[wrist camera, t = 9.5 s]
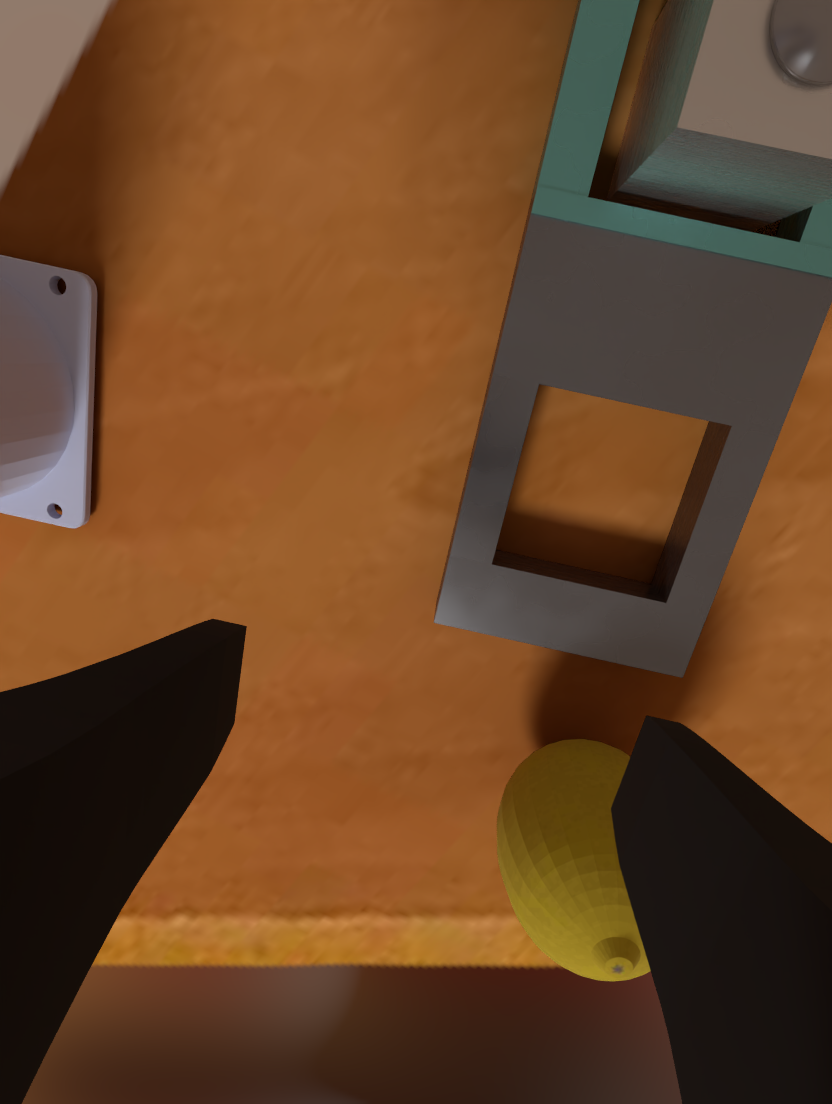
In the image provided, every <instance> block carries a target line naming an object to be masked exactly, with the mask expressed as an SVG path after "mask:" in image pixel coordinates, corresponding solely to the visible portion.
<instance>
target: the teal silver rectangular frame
mask: <svg viewBox="0 0 832 1104" xmlns="http://www.w3.org/2000/svg"><path fill="white" fill-rule="evenodd" d="M638 4H639V0H578V3H577V8H576V12H575V16H574V20H573V25H572V29H571V33H570V37H569V42H568V46H567V50H566V54H565V59H564V63H563V67H562V71H561V76H560V80H559V84H558V88H557V93H556V97H555V101H554V105H553V110H552V114H551V118H550V122H549V127H548V131H547V135H546V139H545V144H544V148H543V152H542V156H541V161H540V165H539V169H538V173H537V178H536V182H535V186H534V190H533V194H532V199H531V203H530V207H529V211H528V216H527V220H526V224H525V228H524V233H523V237H522V241H521V245H520V250H519V254H518V258H517V262H516V267H515V271H514V275H513V279H512V284H511V288H510V292H509V296H508V301H507V305H506V309H505V313H504V318H503V322H502V326H501V330H500V335H499V339H498V343H497V347H496V352H495V356H494V360H493V364H492V369H491V373H490V377H489V381H488V386H487V390H486V394H485V398H484V403H483V407H482V411H481V415H480V420H479V424H478V428H477V432H476V436H475V441H474V445H473V449H472V453H471V458H470V462H469V466H468V470H467V475H466V479H465V483H464V487H463V492H462V496H461V500H460V504H459V509H458V513H457V517H456V521H455V526H454V530H453V534H452V538H451V543H450V547H449V551H448V555H447V560H446V564H445V568H444V572H443V577H442V581H441V585H440V589H439V594H438V598H437V602H436V609H435V618H434V623H438V624H443V625H447V626H452V627H456V628H461V629H465V630H470V631H474V632H479V633H483V634H488V635H492V636H497V637H501V638H506V639H510V640H515V641H519V642H524V643H528V644H533V645H537V646H542V647H546V648H550V649H555V650H559V651H564V652H568V653H573V654H577V655H582V656H586V657H591V658H595V659H600V660H604V661H609V662H613V663H618V664H622V665H627V666H631V667H636V668H640V669H645V670H649V671H654V672H658V673H663V674H667V675H672V676H676V677H681V678H683V676H684V673H685V671H686V668H687V666H688V663H689V661H690V658H691V656H692V653H693V651H694V648H695V646H696V643H697V641H698V638H699V635H700V633H701V630H702V628H703V625H704V623H705V620H706V618H707V615H708V613H709V610H710V608H711V605H712V603H713V600H714V598H715V595H716V593H717V590H718V588H719V585H720V582H721V580H722V577H723V575H724V572H725V570H726V567H727V565H728V562H729V560H730V557H731V555H732V552H733V550H734V547H735V545H736V542H737V540H738V537H739V535H740V532H741V529H742V527H743V524H744V522H745V519H746V517H747V514H748V512H749V509H750V507H751V504H752V502H753V499H754V497H755V494H756V492H757V489H758V487H759V484H760V481H761V479H762V476H763V474H764V471H765V469H766V466H767V464H768V461H769V459H770V456H771V454H772V451H773V449H774V446H775V444H776V441H777V439H778V436H779V434H780V431H781V428H782V426H783V423H784V421H785V418H786V416H787V413H788V411H789V408H790V406H791V403H792V401H793V398H794V396H795V393H796V391H797V388H798V386H799V383H800V381H801V378H802V375H803V373H804V370H805V368H806V365H807V363H808V360H809V358H810V355H811V353H812V350H813V348H814V345H815V343H816V340H817V338H818V335H819V333H820V330H821V327H822V325H823V322H824V320H825V317H826V315H827V312H828V310H829V307H830V305H831V302H832V198H831V199H828V200H826V201H823V202H821V203H819V204H816V205H814V206H811V207H809V208H807V209H804V210H802V211H799V212H797V213H795V214H792V215H790V216H787V217H785V218H783V219H781V222H780V225H779V228H778V230H777V233H776V236H775V237H772V236H768V235H763V234H758V233H754V232H749V231H744V230H740V229H735V228H730V227H726V226H721V225H716V224H712V223H707V222H702V221H698V220H693V219H688V218H684V217H679V216H674V215H670V214H665V213H660V212H656V211H651V210H646V209H642V208H637V207H632V206H628V205H623V204H618V203H614V202H609V201H604V200H599V199H595V198H590V197H588V195H589V191H590V187H591V184H592V180H593V176H594V172H595V168H596V164H597V161H598V157H599V153H600V149H601V145H602V142H603V138H604V134H605V130H606V126H607V122H608V119H609V115H610V111H611V107H612V103H613V100H614V96H615V92H616V88H617V84H618V80H619V77H620V73H621V69H622V65H623V61H624V58H625V54H626V50H627V46H628V42H629V38H630V35H631V31H632V27H633V23H634V19H635V16H636V12H637V8H638ZM539 384H542V385H546V386H551V387H555V388H560V389H565V390H569V391H574V392H578V393H583V394H588V395H592V396H597V397H601V398H606V399H611V400H615V401H620V402H624V403H629V404H634V405H638V406H643V407H647V408H652V409H657V410H661V411H666V412H670V413H675V414H680V415H684V416H689V417H693V418H698V419H703V420H707V421H709V424H708V427H707V429H706V432H705V435H704V438H703V441H702V443H701V446H700V449H699V452H698V455H697V457H696V460H695V463H694V466H693V469H692V471H691V474H690V477H689V480H688V483H687V485H686V488H685V491H684V494H683V497H682V499H681V502H680V505H679V508H678V511H677V513H676V516H675V519H674V522H673V525H672V528H671V530H670V533H669V536H668V539H667V542H666V544H665V547H664V550H663V553H662V556H661V558H660V561H659V564H658V567H657V570H656V572H655V575H654V578H653V581H652V584H649V583H644V582H640V581H635V580H631V579H626V578H622V577H617V576H613V575H608V574H604V573H599V572H595V571H590V570H586V569H581V568H577V567H572V566H567V565H563V564H558V563H554V562H549V561H545V560H540V559H536V558H531V557H527V556H522V555H518V554H513V553H509V552H504V551H500V550H496V546H497V542H498V539H499V535H500V531H501V527H502V523H503V520H504V516H505V512H506V508H507V504H508V500H509V497H510V493H511V489H512V485H513V481H514V478H515V474H516V470H517V466H518V462H519V458H520V455H521V451H522V447H523V443H524V439H525V436H526V432H527V428H528V424H529V420H530V416H531V413H532V409H533V405H534V401H535V397H536V394H537V390H538V386H539Z"/></svg>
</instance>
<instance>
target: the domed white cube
mask: <svg viewBox="0 0 832 1104" xmlns="http://www.w3.org/2000/svg"><path fill="white" fill-rule="evenodd" d="M831 198H832V0H668V1H667V3H666V5H665V6H664V8H663V10H662V11H661V13H660V15H659V17H658V18H657V20H656V22H655V24H654V25H653V27H652V30H651V34H650V38H649V41H648V45H647V49H646V53H645V56H644V60H643V64H642V68H641V71H640V75H639V79H638V83H637V87H636V90H635V94H634V98H633V102H632V105H631V109H630V113H629V117H628V120H627V124H626V128H625V132H624V135H623V139H622V143H621V147H620V151H619V154H618V158H617V162H616V166H615V169H614V173H613V177H612V181H611V184H610V188H609V192H608V196H607V199H606V201H609V202H614V203H618V204H623V205H628V206H632V207H637V208H642V209H646V210H651V211H656V212H660V213H665V214H670V215H674V216H679V217H684V218H688V219H693V220H698V221H702V222H707V223H712V224H716V225H721V226H726V227H730V228H735V229H740V230H744V231H749V232H751V231H754V230H756V229H759V228H761V227H763V226H766V225H768V224H771V223H773V222H775V221H778V220H780V219H783V218H785V217H787V216H790V215H792V214H795V213H797V212H799V211H802V210H804V209H807V208H809V207H811V206H814V205H816V204H819V203H821V202H823V201H826V200H828V199H831Z"/></svg>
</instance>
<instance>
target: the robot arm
mask: <svg viewBox="0 0 832 1104" xmlns="http://www.w3.org/2000/svg"><path fill="white" fill-rule="evenodd" d="M61 278H62V279H63V280H64V281H65V283H66V291H65V293H64V294H61V293H60V292H59V290H58V286H57V284H58V280H60V279H61ZM96 321H97V288H96V285H95V283H94V281H93V280H92V279H91V278H90V277H89V276H88V275H86V274H84V273H82V272H78V271H73V270H68V269H64V268H59V267H55V266H50V265H45V264H41V263H36V262H32V261H27V260H22V259H18V258H13V257H9V256H4V255H0V513H4V514H9V515H13V516H18V517H22V518H27V519H31V520H36V521H40V522H45V523H49V524H54V525H58V526H63V527H67V528H77V527H80V526H82V525H84V524H86V523H87V522H88V520H89V518H90V505H91V474H92V443H93V413H94V382H95V351H96ZM55 504H57V505H59V506H60V507H61V509H62V515H60V514H58V513H57V512H56V510H55V507H54V506H55ZM246 627H247V626H243V625H239V624H234V623H230V622H225V621H221V620H216V619H211V620H208V621H204V622H201V623H199V624H196V625H193V626H191V627H188V628H186V629H183V630H181V631H178V632H176V633H173V634H171V635H169V636H166V637H164V638H161V639H159V640H156V641H154V642H151V643H149V644H146V645H144V646H141V647H139V648H136V649H134V650H131V651H129V652H126V653H123V654H121V655H118V656H115V657H112V658H110V659H107V660H104V661H101V662H98V663H95V664H92V665H90V666H87V667H84V668H81V669H78V670H75V671H72V672H70V673H67V674H64V675H60V676H57V677H54V678H51V679H47V680H44V681H41V682H37V683H34V684H30V685H26V686H23V687H19V688H15V689H11V690H7V691H3V692H0V1104H22V1102H23V1100H24V1098H25V1096H26V1093H27V1091H28V1089H29V1087H30V1085H31V1083H32V1081H33V1079H34V1077H35V1075H36V1073H37V1071H38V1069H39V1067H40V1065H41V1063H42V1061H43V1059H44V1057H45V1055H46V1053H47V1051H48V1049H49V1047H50V1045H51V1043H52V1041H53V1039H54V1037H55V1035H56V1033H57V1031H58V1029H59V1027H60V1025H61V1023H62V1021H63V1020H64V1017H65V1015H66V1014H67V1012H68V1010H69V1008H70V1006H71V1004H72V1002H73V1000H74V998H75V996H76V994H77V992H78V990H79V988H80V986H81V985H82V982H83V981H84V979H85V977H86V975H87V973H88V971H89V969H90V967H91V965H92V964H93V962H94V960H95V958H96V956H97V954H98V952H99V950H100V949H101V947H102V945H103V943H104V941H105V939H106V937H107V935H108V934H109V932H110V930H111V928H112V926H113V924H114V922H115V921H116V919H117V917H118V915H119V913H120V911H121V909H122V908H123V906H124V904H125V903H126V901H127V900H128V898H129V896H130V895H131V893H132V891H133V890H134V888H135V886H136V885H137V883H138V882H139V880H140V878H141V877H142V875H143V874H144V872H145V871H146V869H147V868H148V866H149V865H150V863H151V862H152V860H153V859H154V857H155V856H156V854H157V853H158V851H159V850H160V848H161V847H162V845H163V844H164V842H165V841H166V839H167V838H168V836H169V835H170V833H171V832H172V830H173V829H174V827H175V826H176V824H177V823H178V821H179V820H180V818H181V817H182V815H183V814H184V812H185V811H186V809H187V808H188V806H189V805H190V803H191V802H192V800H193V799H194V797H195V795H196V794H197V792H198V791H199V789H200V788H201V786H202V785H203V783H204V782H205V780H206V779H207V777H208V775H209V774H210V772H211V770H212V768H213V766H214V764H215V762H216V760H217V758H218V756H219V754H220V752H221V750H222V748H223V746H224V744H225V742H226V740H227V738H228V736H229V734H230V731H231V729H232V727H233V725H234V721H235V713H236V705H237V698H238V690H239V682H240V674H241V666H242V658H243V650H244V642H245V635H246ZM611 814H612V821H613V828H614V836H615V842H616V848H617V854H618V860H619V865H620V869H621V872H622V876H623V879H624V883H625V886H626V890H627V893H628V897H629V900H630V903H631V907H632V910H633V914H634V917H635V920H636V924H637V927H638V930H639V934H640V937H641V940H642V943H643V947H644V950H645V953H646V957H647V960H648V963H649V967H650V970H651V973H652V977H653V980H654V983H655V987H656V990H657V993H658V996H659V1000H660V1003H661V1007H662V1011H663V1015H664V1018H665V1023H666V1026H667V1030H668V1034H669V1039H670V1044H671V1049H672V1054H673V1059H674V1064H675V1069H676V1074H677V1078H678V1083H679V1088H680V1093H681V1099H682V1104H832V843H830V842H829V841H828V840H826V839H825V838H824V837H822V836H821V835H820V834H818V833H817V832H816V831H815V830H813V829H812V828H811V827H809V826H808V825H807V824H806V823H804V822H803V821H802V820H801V819H799V818H798V817H797V816H796V815H794V814H793V813H792V812H791V811H789V810H788V809H787V808H786V807H784V806H783V805H782V804H781V803H780V802H778V801H777V800H776V799H775V798H773V797H772V796H771V795H770V794H769V793H767V792H766V791H765V790H764V789H763V788H761V787H760V786H759V785H758V784H757V783H755V782H754V781H753V780H752V779H751V778H749V777H748V776H747V775H746V774H745V773H744V772H742V771H741V770H740V769H739V768H738V767H736V766H735V765H734V764H733V763H732V762H730V761H729V760H728V759H727V758H726V757H724V756H723V755H722V754H721V753H720V752H718V751H717V750H716V749H715V748H714V747H712V746H711V745H710V744H709V743H707V742H706V741H705V740H704V739H702V738H701V737H700V736H698V735H697V734H696V733H694V732H693V731H692V730H690V729H689V728H687V727H686V726H684V725H683V724H681V723H678V722H673V721H669V720H664V719H660V718H655V717H651V716H646V718H645V720H644V723H643V726H642V728H641V731H640V733H639V736H638V739H637V741H636V744H635V746H634V749H633V752H632V754H631V757H630V760H629V762H628V765H627V767H626V770H625V773H624V775H623V778H622V780H621V783H620V786H619V788H618V791H617V794H616V796H615V799H614V801H613V804H612V807H611Z"/></svg>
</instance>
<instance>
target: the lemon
mask: <svg viewBox="0 0 832 1104" xmlns="http://www.w3.org/2000/svg"><path fill="white" fill-rule="evenodd" d="M629 760H630V756H629V755H627V754H626V753H624V752H623V751H622V750H620V749H617V748H615V747H612V746H610V745H607V744H604V743H602V742H599V741H593V740H587V739H570V740H562V741H559V742H555V743H551V744H548V745H546V746H544V747H542V748H540V749H539V750H537V751H535V752H533V753H532V754H531V755H530V756H529V757H527V758H526V759H525V760H524V761H523V762H522V763H521V764H520V765H519V766H518V767H517V769H516V770H515V772H514V773H513V775H512V776H511V778H510V780H509V781H508V783H507V785H506V787H505V790H504V793H503V797H502V800H501V804H500V807H499V811H498V816H497V854H498V862H499V867H500V871H501V875H502V878H503V882H504V884H505V887H506V890H507V893H508V896H509V899H510V901H511V904H512V907H513V909H514V911H515V914H516V916H517V918H518V920H519V921H520V923H521V925H522V926H523V928H524V929H525V931H526V932H527V934H528V935H529V936H530V938H531V939H532V940H533V942H534V943H535V944H536V945H537V946H538V948H539V949H540V950H541V951H542V952H544V953H545V954H546V955H547V956H548V957H550V958H551V959H552V960H553V961H555V962H556V963H557V964H559V965H560V966H562V967H564V968H566V969H568V970H570V971H572V972H574V973H576V974H578V975H581V976H584V977H588V978H592V979H595V980H603V981H620V980H628V979H632V978H635V977H638V976H642V975H644V974H646V973H648V972H649V971H651V970H650V967H649V963H648V960H647V957H646V953H645V950H644V947H643V943H642V940H641V937H640V934H639V930H638V927H637V924H636V920H635V917H634V914H633V910H632V907H631V903H630V900H629V897H628V893H627V890H626V886H625V883H624V879H623V876H622V872H621V869H620V865H619V860H618V854H617V848H616V842H615V836H614V828H613V821H612V814H611V807H612V804H613V801H614V799H615V796H616V794H617V791H618V788H619V786H620V783H621V780H622V778H623V775H624V773H625V770H626V767H627V765H628V762H629Z"/></svg>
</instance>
